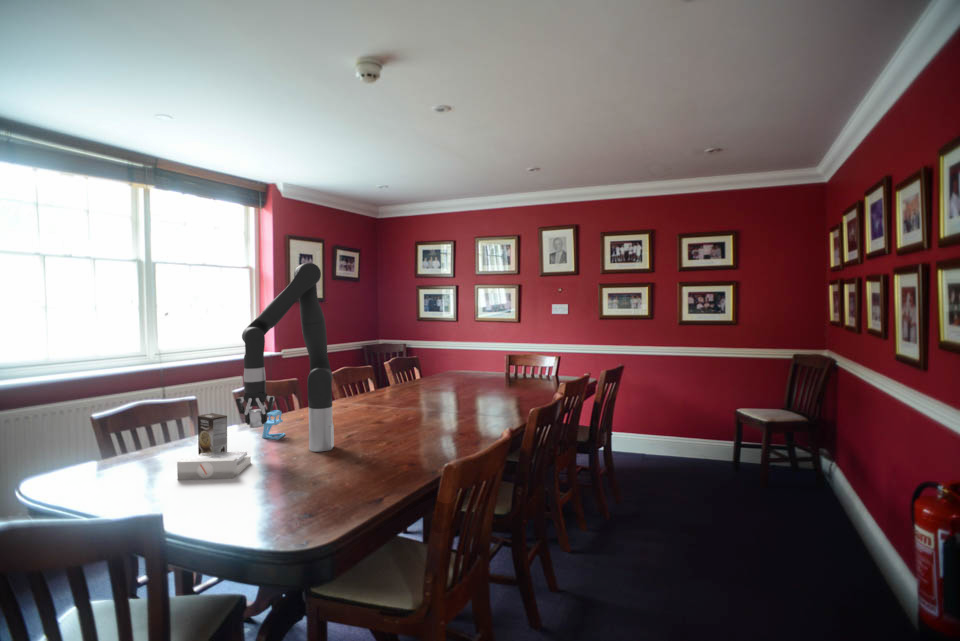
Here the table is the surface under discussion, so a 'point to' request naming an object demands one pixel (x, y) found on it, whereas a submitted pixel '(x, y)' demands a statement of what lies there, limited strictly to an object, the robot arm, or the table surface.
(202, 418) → the coffee box
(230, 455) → the platter
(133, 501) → the table surface
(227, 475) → the scale
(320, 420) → the robot arm
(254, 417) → the small grey jar
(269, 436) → the chair
